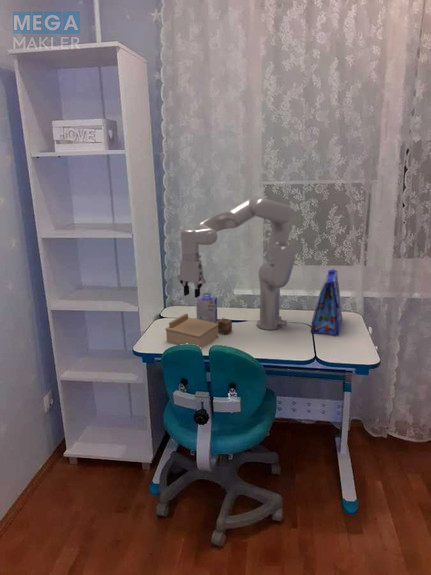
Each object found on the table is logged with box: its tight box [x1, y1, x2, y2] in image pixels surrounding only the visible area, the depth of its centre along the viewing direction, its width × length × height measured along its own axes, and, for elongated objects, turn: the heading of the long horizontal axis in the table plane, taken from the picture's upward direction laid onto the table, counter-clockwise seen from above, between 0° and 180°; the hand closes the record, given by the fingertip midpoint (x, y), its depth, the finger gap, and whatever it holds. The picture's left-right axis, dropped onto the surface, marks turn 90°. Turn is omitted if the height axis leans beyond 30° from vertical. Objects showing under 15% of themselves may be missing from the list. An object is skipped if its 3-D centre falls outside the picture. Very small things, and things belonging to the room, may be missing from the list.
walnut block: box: [216, 317, 233, 336], centre depth 222 cm, size 5×5×6 cm
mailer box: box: [165, 326, 219, 349], centre depth 215 cm, size 18×16×5 cm
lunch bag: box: [310, 269, 343, 337], centre depth 222 cm, size 22×14×29 cm, turn 161°
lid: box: [165, 313, 219, 338], centre depth 214 cm, size 18×16×3 cm
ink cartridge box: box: [195, 292, 218, 323], centre depth 234 cm, size 10×6×14 cm, turn 78°
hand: (192, 295), depth 209 cm, fingers open, 5 cm apart
